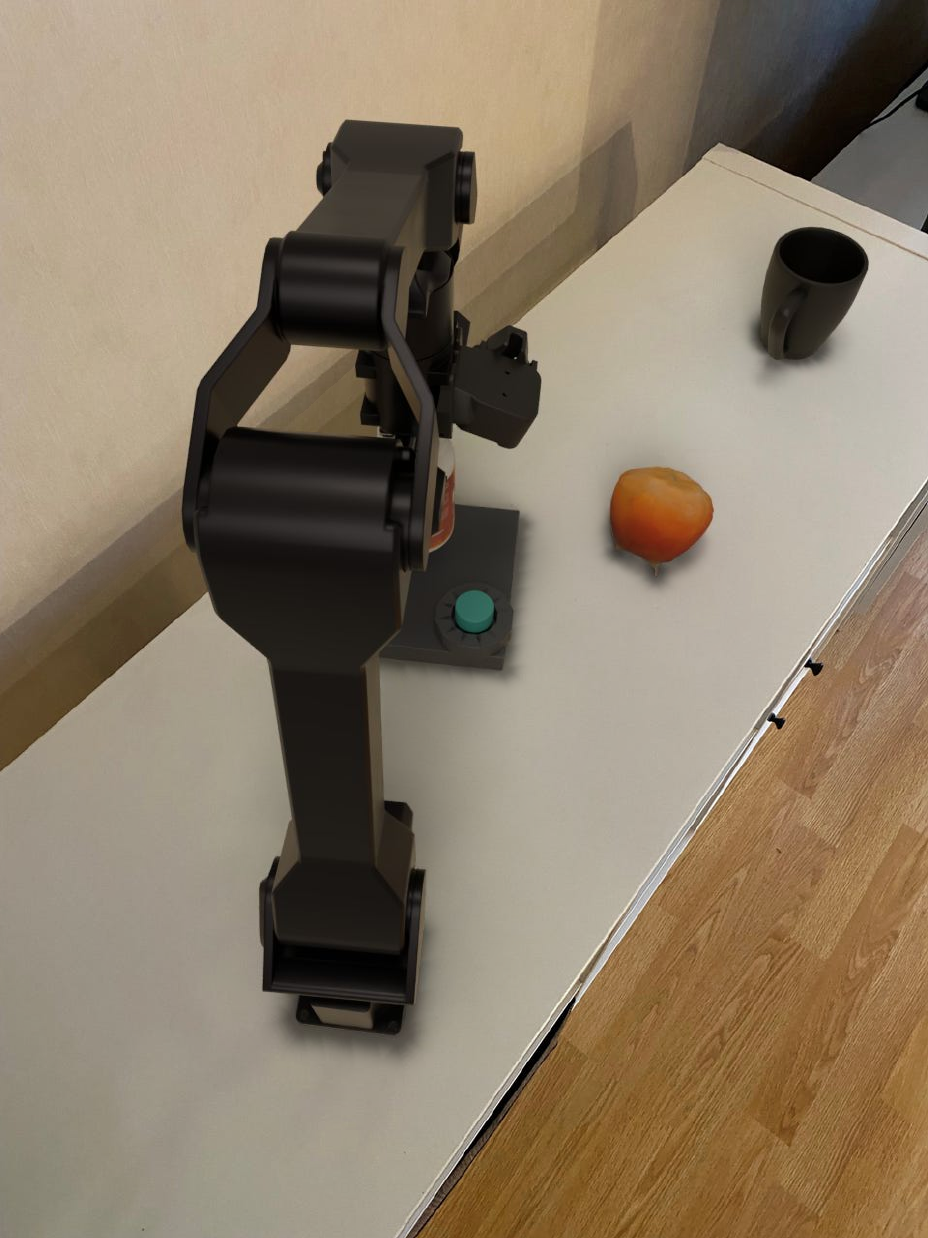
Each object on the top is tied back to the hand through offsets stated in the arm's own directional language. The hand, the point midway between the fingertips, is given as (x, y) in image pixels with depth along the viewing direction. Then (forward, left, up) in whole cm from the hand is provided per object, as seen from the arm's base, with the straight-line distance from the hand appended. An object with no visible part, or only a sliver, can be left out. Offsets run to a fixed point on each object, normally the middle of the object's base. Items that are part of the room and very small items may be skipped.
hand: (413, 495), depth 72 cm
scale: (-3, -2, -7) cm, 8 cm away
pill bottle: (0, 0, -4) cm, 4 cm away
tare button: (-7, -5, -4) cm, 10 cm away
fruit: (+4, -19, -8) cm, 21 cm away
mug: (+28, -31, -8) cm, 43 cm away
